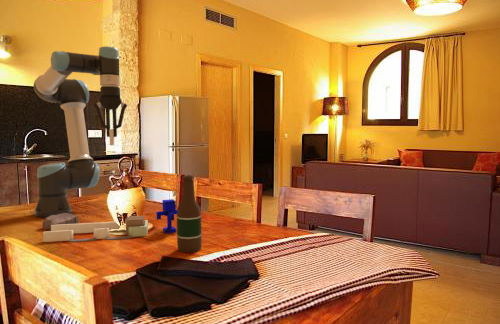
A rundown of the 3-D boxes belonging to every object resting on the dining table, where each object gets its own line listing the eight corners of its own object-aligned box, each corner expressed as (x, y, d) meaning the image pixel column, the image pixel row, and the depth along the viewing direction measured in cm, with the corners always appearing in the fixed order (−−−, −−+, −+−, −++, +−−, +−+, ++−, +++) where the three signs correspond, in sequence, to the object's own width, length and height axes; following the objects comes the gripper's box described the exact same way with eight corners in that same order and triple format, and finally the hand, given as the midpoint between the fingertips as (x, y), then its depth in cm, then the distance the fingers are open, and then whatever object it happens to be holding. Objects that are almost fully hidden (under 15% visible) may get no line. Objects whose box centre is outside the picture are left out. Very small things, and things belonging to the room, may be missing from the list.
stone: (56, 231, 155) (56, 219, 154) (40, 229, 158) (39, 217, 158) (81, 224, 165) (80, 213, 165) (65, 222, 169) (64, 211, 169)
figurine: (155, 233, 150) (154, 201, 149) (166, 228, 157) (165, 198, 156) (173, 235, 148) (172, 202, 147) (183, 230, 155) (182, 199, 154)
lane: (51, 234, 150) (51, 224, 149) (148, 228, 157) (147, 220, 157) (43, 242, 139) (42, 232, 139) (146, 236, 147) (146, 226, 146)
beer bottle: (178, 246, 134) (177, 174, 132) (202, 245, 135) (200, 174, 133) (176, 253, 126) (174, 177, 124) (201, 252, 127) (200, 177, 125)
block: (128, 231, 153) (127, 216, 152) (144, 231, 154) (143, 215, 154) (126, 236, 147) (126, 219, 147) (143, 235, 148) (143, 219, 148)
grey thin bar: (71, 240, 141) (71, 239, 141) (130, 237, 145) (130, 236, 145) (69, 242, 139) (69, 241, 139) (129, 238, 143) (129, 237, 143)
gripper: (91, 85, 157) (93, 145, 159) (126, 85, 159) (128, 145, 161) (94, 87, 164) (96, 145, 166) (127, 87, 167) (129, 144, 169)
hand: (112, 145), depth 164 cm, fingers closed
